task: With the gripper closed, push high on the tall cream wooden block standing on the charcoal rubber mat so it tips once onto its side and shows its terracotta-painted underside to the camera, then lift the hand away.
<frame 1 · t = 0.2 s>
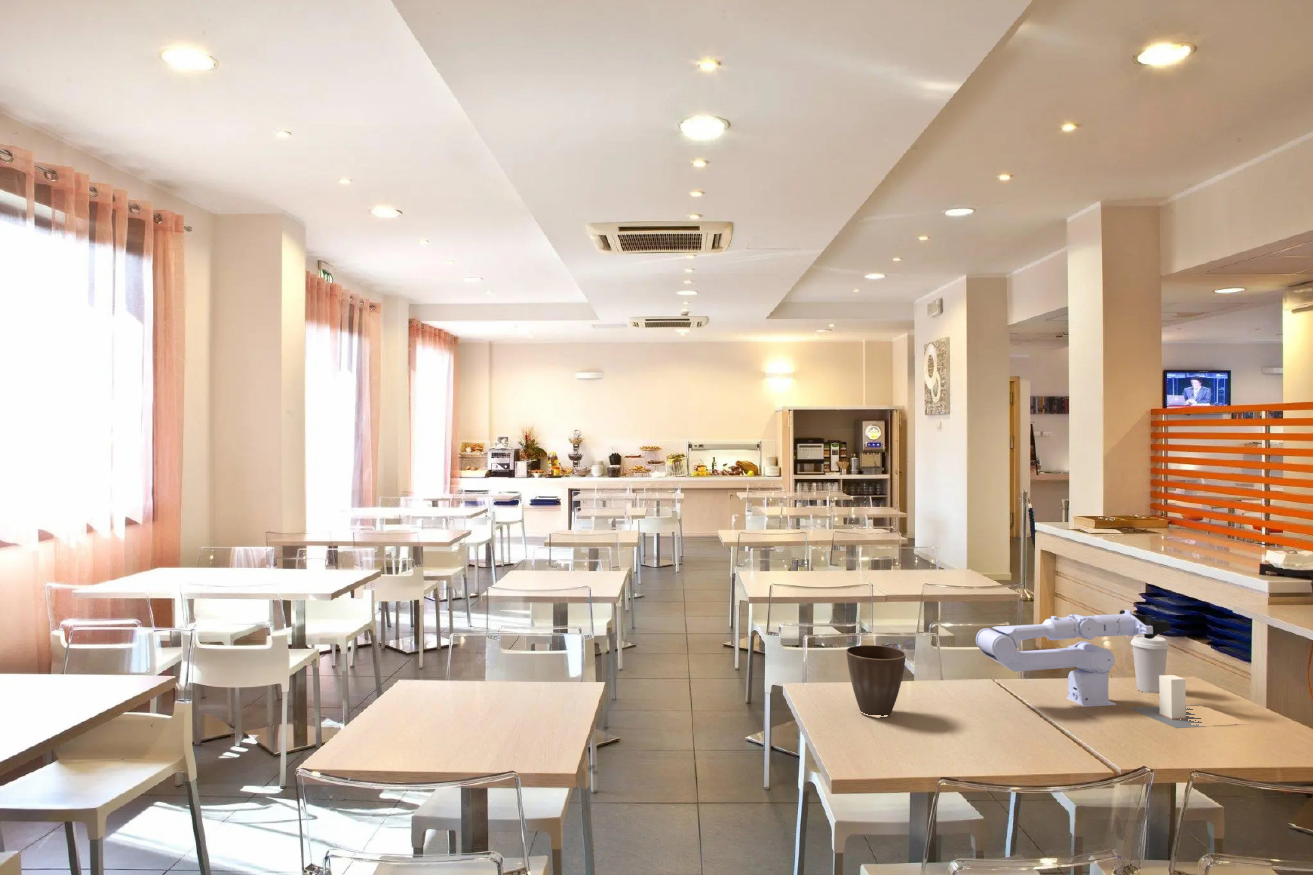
hand: (1158, 623, 225), 21 cm above the table, tool horizontal, fingers open, 7 cm apart
mat: (1189, 717, 211), on the table
plant pot: (875, 714, 212), on the table
coffee cup: (1150, 691, 235), on the table
block: (1172, 716, 210), resting on mat
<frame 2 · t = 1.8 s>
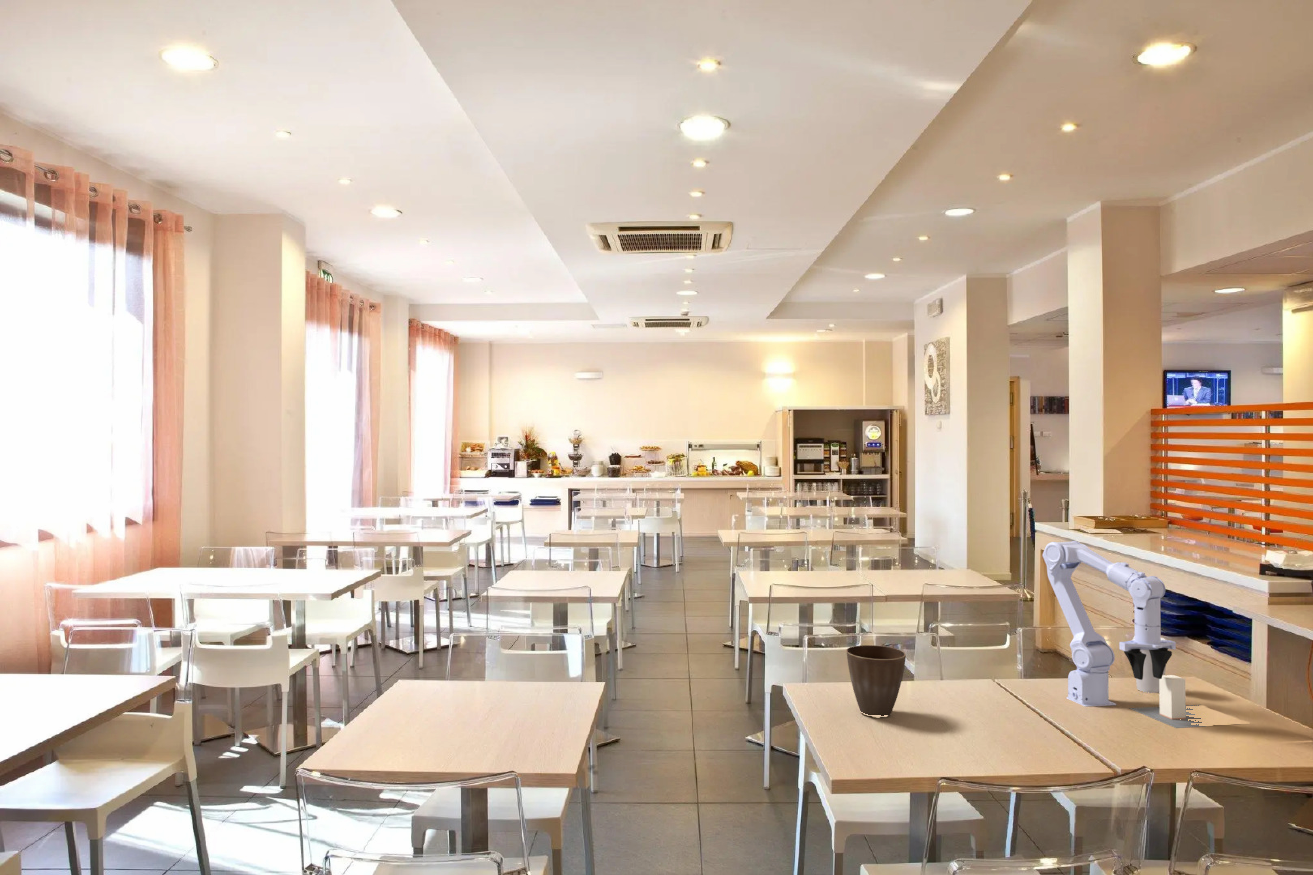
hand: (1147, 678, 209), 10 cm above the table, tool pointing down, fingers open, 5 cm apart
nothing on the table moved.
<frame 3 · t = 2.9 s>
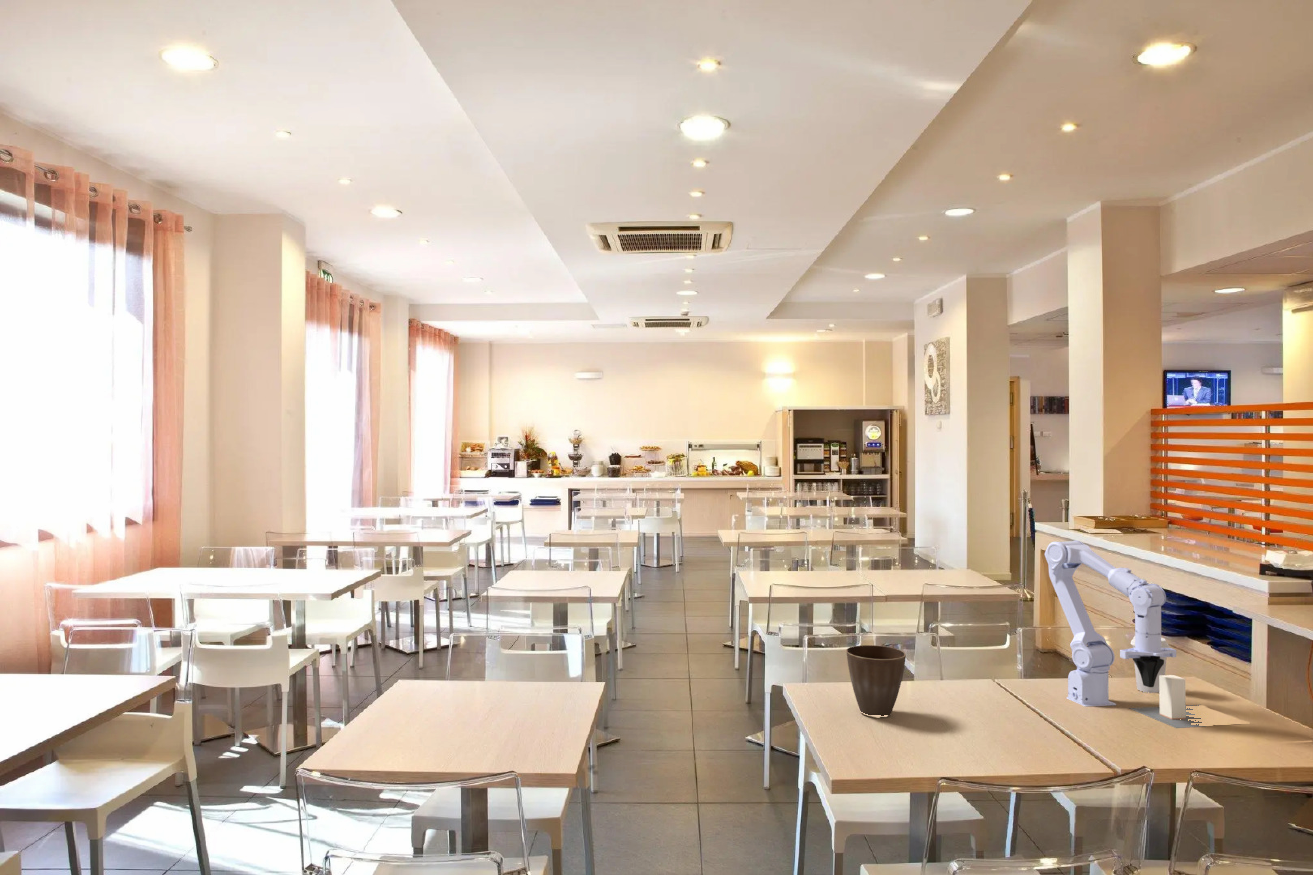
hand: (1148, 686, 209), 8 cm above the table, tool pointing down, fingers closed
nothing on the table moved.
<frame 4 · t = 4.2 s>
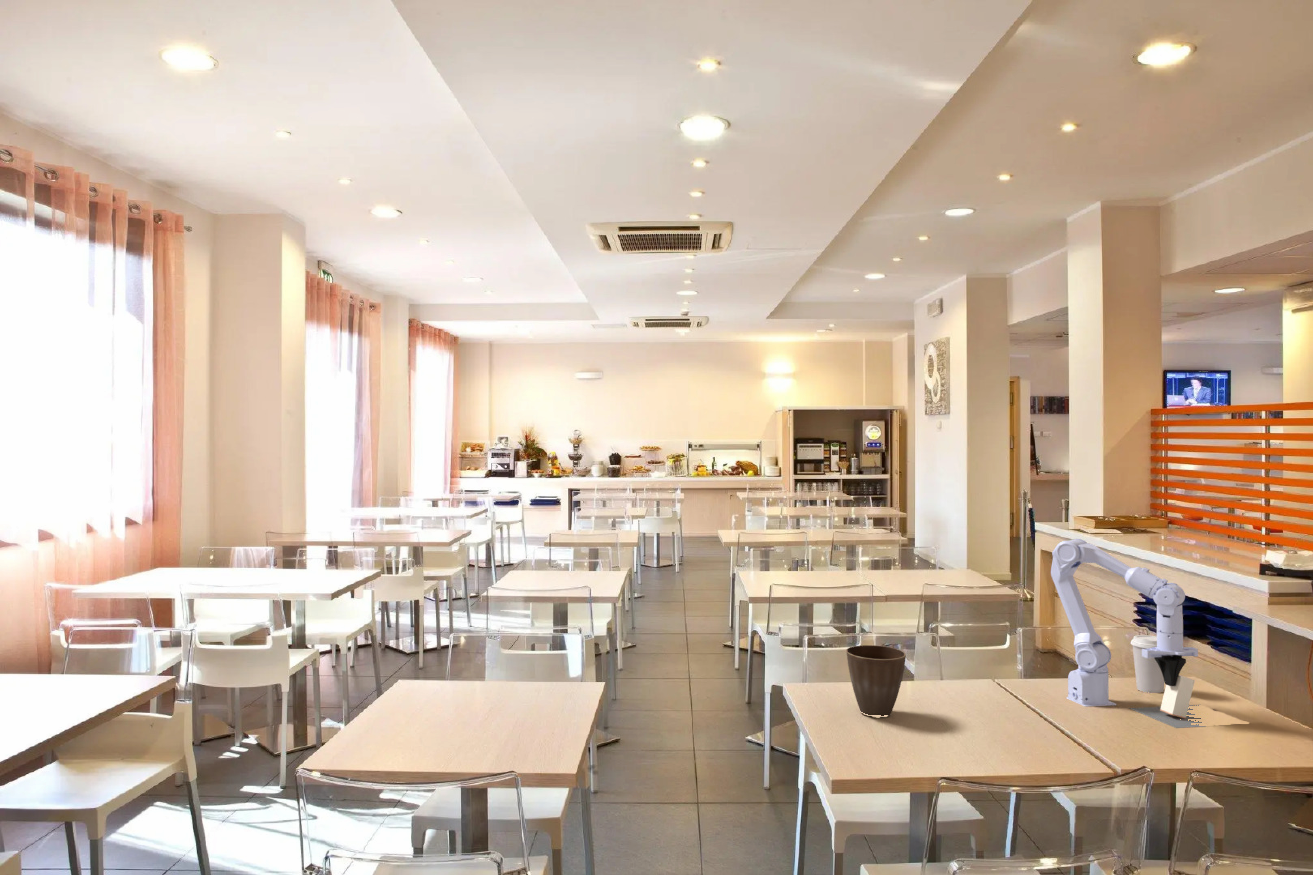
hand: (1170, 685, 210), 8 cm above the table, tool pointing down, fingers closed
block: (1172, 714, 210), point 1 cm above the table, tilted 16°, touching gripper, mat
everything else where it was.
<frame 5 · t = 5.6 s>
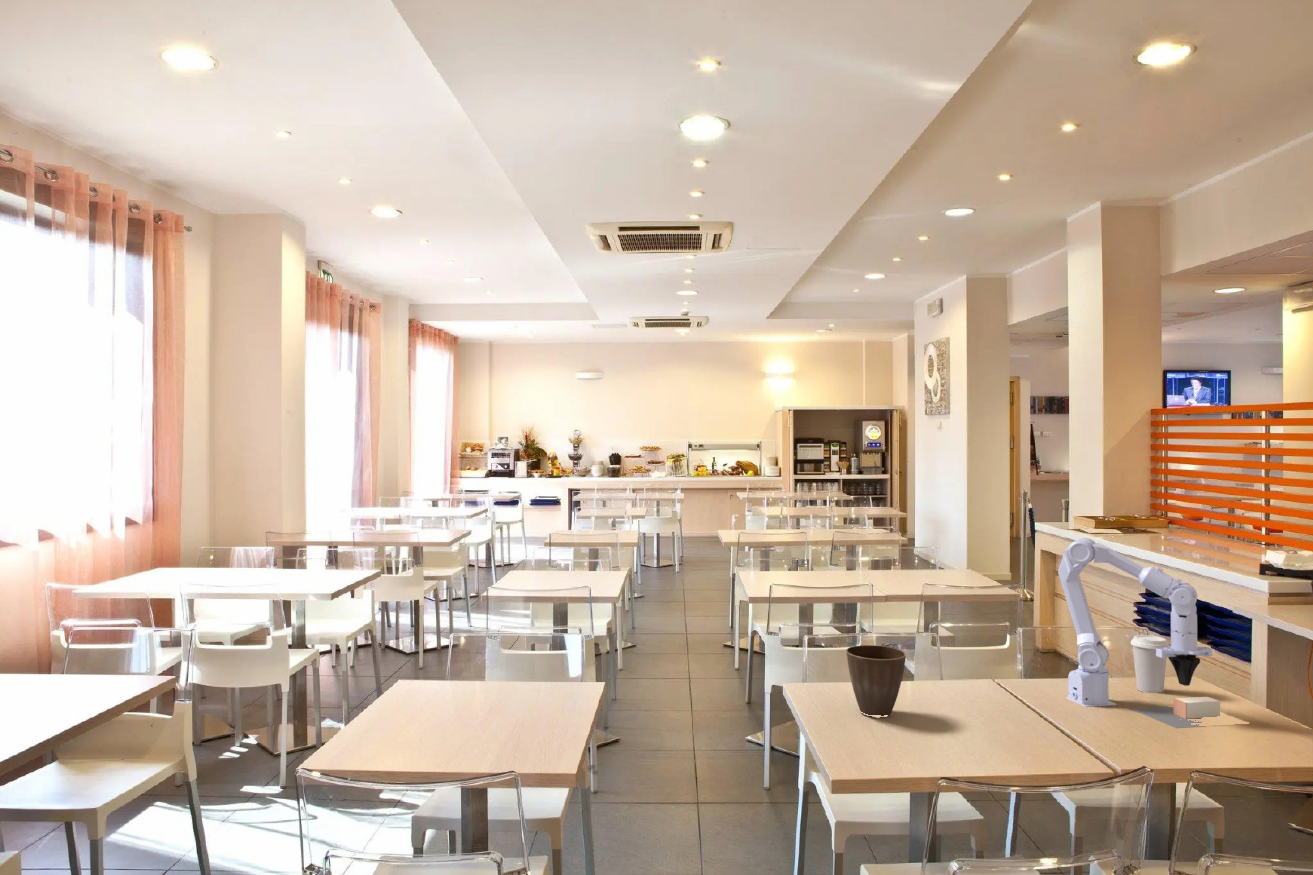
hand: (1184, 684, 210), 8 cm above the table, tool pointing down, fingers closed
block: (1179, 708, 210), point 2 cm above the table, tilted 90°, touching mat
everything else where it was.
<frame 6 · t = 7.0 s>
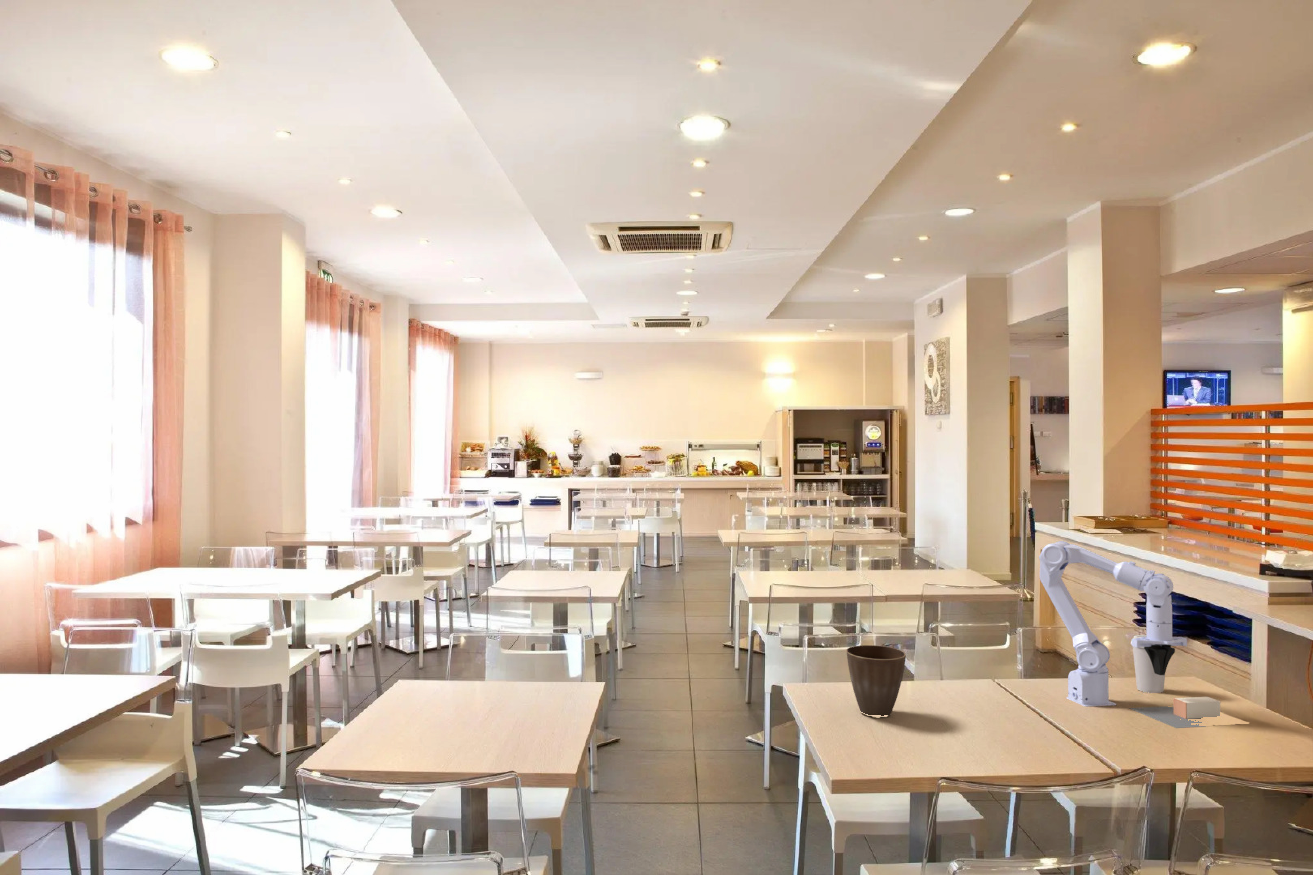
hand: (1159, 674, 213), 10 cm above the table, tool pointing down, fingers closed
nothing on the table moved.
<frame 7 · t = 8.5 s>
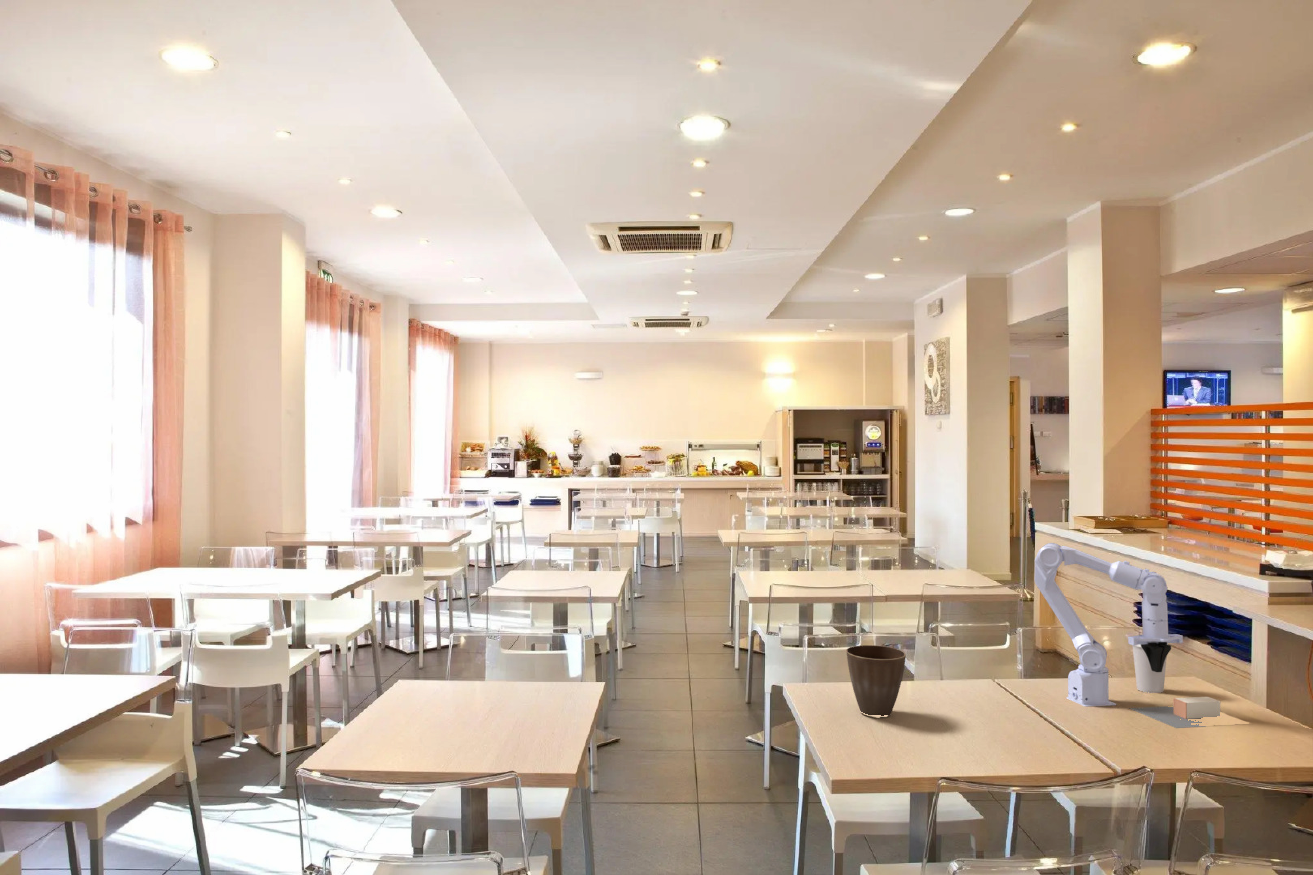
hand: (1156, 671, 216), 10 cm above the table, tool pointing down, fingers closed
nothing on the table moved.
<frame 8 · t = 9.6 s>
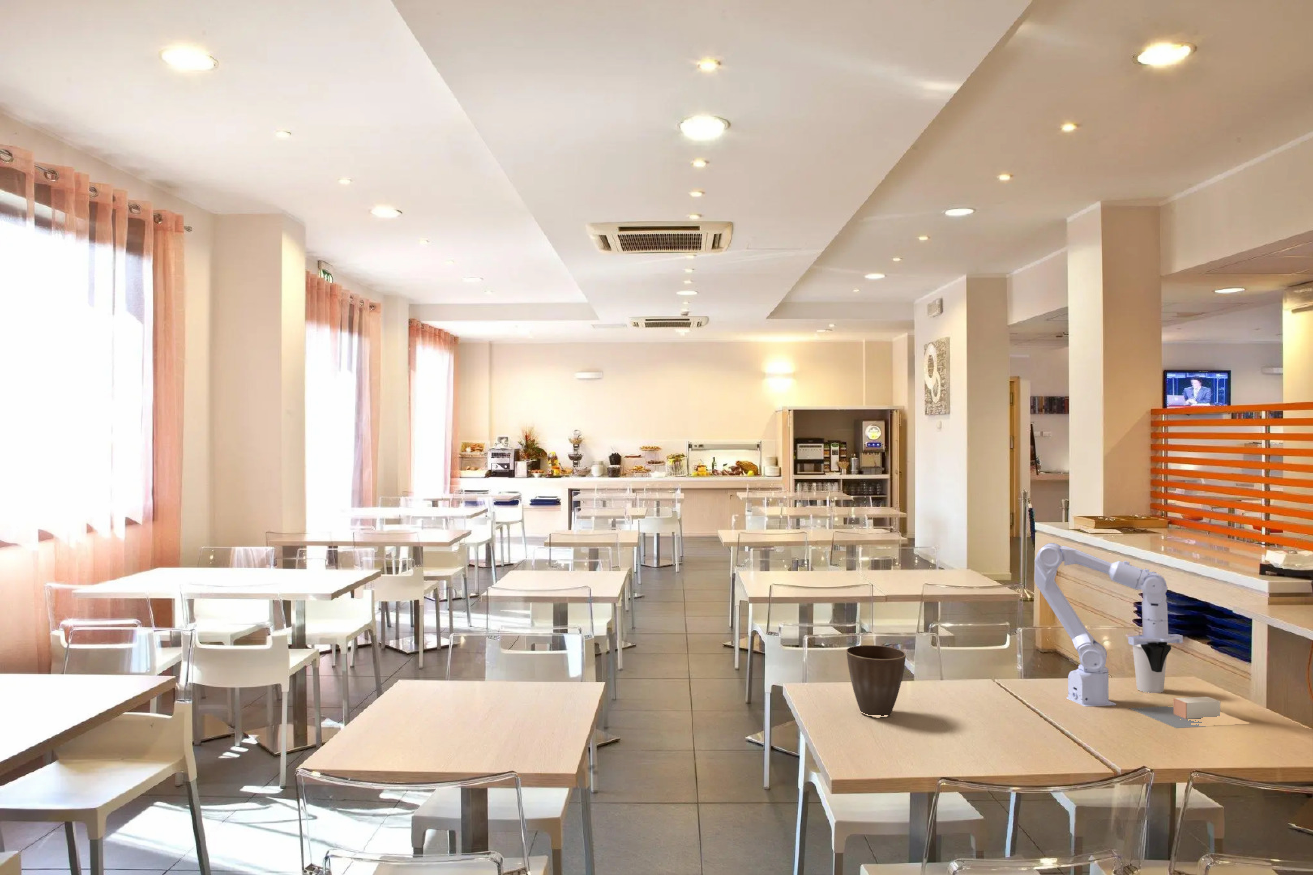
hand: (1156, 671, 216), 10 cm above the table, tool pointing down, fingers closed
nothing on the table moved.
at the end: block tilted 90°; block inside the target area (2.5 cm from its centre), point 2.4 cm above the table; block touching mat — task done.
